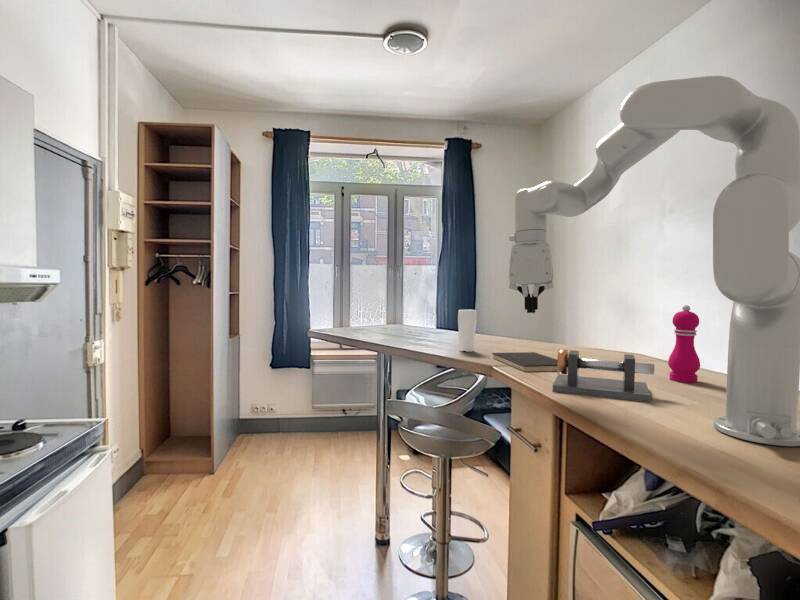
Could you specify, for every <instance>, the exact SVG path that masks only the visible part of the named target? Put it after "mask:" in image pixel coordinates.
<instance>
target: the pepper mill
mask: <svg viewBox="0 0 800 600" xmlns="http://www.w3.org/2000/svg"><path fill="white" fill-rule="evenodd" d="M690 310H691V307H690V306H689V304H688V305H687V304H685V305H683V306H682V311H678V312H675V314H674V315H673V316H672V324H673V326H674V327H675V329H674V332H673V334H674V335H675V344H674V348H673V350H672V352H670V353H671V354H670V355H669V357H668V361H667V365H668V367H669V368H670V369H671V371H670V372H669V379H670V380H671V381H674V382H679V383H685V384H686V383H687V384H688V383H689V384H694V383H698V378H699V377H698V374H697V372H698V371H699V370H700V368H701V361H700V357H699V355H698V353H697V351H696V349H695V337H696V336H697V331H698V330H696V328H697V327H699V325H700V317H699V315H698V314H697V313H695V312H693V311H690Z"/></svg>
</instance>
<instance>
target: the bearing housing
mask: <svg viewBox="0 0 800 600" xmlns="http://www.w3.org/2000/svg"><path fill="white" fill-rule="evenodd" d="M578 358H580V350H571V349H570V350H569V351H568V371H567V375H566V374H558V373H557V376H556V378H555V379H554V382H553V383H552V392H555V393H563V394H570V395H571V394H573V395H580V396H590V397H597V398H598V397H599V398H606V399H607V398H608V399H616V400H617V399H618V400H627V401H637V402H643V403H644V402H645V403H651V398H652V394H651V392H650V390H649V388H648V385H647V382H643V381H635V378H636V377H635V376H636V375H635V374H636V373H635V363H636V358H635V355H634V354H629V353H628V354H627V353H625V354H623V362H625V369H624V372H622V373H623V374H622V377H623V378H622V379H613V378H612V379H611V378H603V377H602V378H601V377H591V376H580V375H579V369H580V368H578Z"/></svg>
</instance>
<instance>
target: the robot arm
mask: <svg viewBox="0 0 800 600" xmlns="http://www.w3.org/2000/svg"><path fill="white" fill-rule="evenodd" d="M619 117H620V122H621V123H620V124H619V125H617V126H616V127H615V128H613V129H612V130H611V131H610V132H609V133H607V134H606V135H605V136H604V137H602V138H601V139H600V140H599V141H598V142H597V143H596V146H595V154H596V158H597V160H596V163H595V166H594V167H593V169H592V170H591V171H590V172H589V173H588V174H587V175H586V176H584V177H583V178H582V179H581V180H579V181H578V182H576V183H575V184H570V183H566V182H562V181H558V180H548V181H544V182H542V183H540V184H538V185H536V186H534V187H527V188H522V189H520V190H517V192H516V193H515V196H514V212H515V213H514V220H515V221H514V227H515V228H514V233H513V235H509V241H510V242H513V243H514V244H512V245H511V248H510V254H509V271H508V279H509V285H508V289H510V290H516V291H518V292H519V293H520V294H521V295H522V296H523V297H524V310H526V313H527V314H531V313H532V314H536V310H538V307H539V304H538V303H539V302H538V301H539V300H538V298H539V296H540V295H541V294H542V293H543V292H544V291H547V290H551V289H553V288H554V287H555V286H554V281H553V280H554V279H553V278H554V270H553V259H552V258H553V257H552V251H551V246H550V243H549V242H548V241H547V240H548V239H547V238H548V235H547V234H548V233H547V230H548V229H547V227H548V226H547V223H548V222H547V221H548V220H547V215H555V216H562V217H566V218H567V217H568V218H573V217H578V216H581V214H584V213H586V212H587V211H588V210H591V208H593V207H595V206H596V205H598V204H599V203H600V202H602V200H604V199H605V198H606V197H607V196H608V195H609V194H610V192H612V191H613V189H614V188H615V186H616V185H617V184H618V182H619V180H620V179H621V176H622V175H623V174H624V173H626V171H628V170H629V169H630V168H632V167H633V166H635V165H637V163H639V162H640V161H642V160H643V159H644V158H645V157H647V156H648V155H650V154H651V153H652V152H654V151H656V150H657V149H658V148H659V147H661V146H662V145H663V144H665V143H666V142H668V141H669V140H671V139H672V138H673V137H675V136H676V135H677V134H678V133H679V132H680V131H682V130H683V131H689V130H692V131H693V130H694V131H699V132H700V133H702V134H703V135H706V136H708V137H710V138H712V139H714V140H717V141H719V142H723V143H724V142H725V143H726V142H727V143H730V144H733V145H734V146H735V147H736V150H737V151H736V155H735V160H734V161H735V163H734V167H735V168H734V170H735V179H734V180H733V181H731V182H729V184H727V185H726V186H725V187H724V188H723V189H722V190H721V192H720V193H719V194H718V196H717V198H716V200H715V205H714V207H713V215H712V272H713V279H714V283H715V285H716V288H717V289H718V291H719V292H720V294H722V295H723V297H725V298H726V299H728V300H730V301H731V302H732V308H731V314H730V321H729V322H730V323H729V334H728V335H729V336H728V345H727V347H728V348H727V349H728V350H727V368H726V369H727V370H726V371H727V372H726V373H727V375H726V388H725V389H726V392H725V412H724V413H725V416H720V417H716V418H715V419H714V421H713V427H714V428H715V429H716V430H717V431H718V432H721V433H723V434H725V435H729V436H730V437H734V438H736V439H741V440H744V441H748V442H753V443H758V444H764V445H768V446H769V445H770V446H778V447H779V446H780V447H800V429H799V428H798V414H799V413H798V410H799V394H800V393H799V391H800V258H799V256H797V255H796V254H794V252H792V251H790V232H791V231H793V229H794V228H795V227H796V226H797V225H798V224H799V222H800V127H799V122H798V120H797V117H796V115H795V114H794V112H793V111H792V110H791V109H790V108H788V106H786V105H784V104H783V103H781V102H779V101H776V100H773V99H768V98H765V97H762V96H758V95H756V94H754V93H753V92H752V91H750V90H749V89H748V88H746V86H744V85H743V84H742V83H741V82H740V81H738V80H737V79H734V78H733V77H730V76H723V75H706V76H697V77H696V76H695V77H688V78H678V79H669V80H668V79H667V80H661V81H660V80H659V81H653V82H649V83H645V84H642V85H640V86H638V87H636V88H635V89H633V90H632V91H631V92H629V93H628V95H626V97H625V99H624V100H623V101H622V103H621V105H620V110H619ZM547 242H548V243H547ZM529 285H533V291H532V293H531V294H530V288H529Z"/></svg>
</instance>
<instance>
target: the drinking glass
mask: <svg viewBox="0 0 800 600" xmlns="http://www.w3.org/2000/svg"><path fill="white" fill-rule="evenodd" d="M477 311H478V310H477V309H458V312H457V328H458V329H457V330H458V343H459V344H458V345H459V347H458V349H459V351H460V352H463V351H466V353H471V352H474V351H475V340H476V331H477V321H478V313H477Z"/></svg>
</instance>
